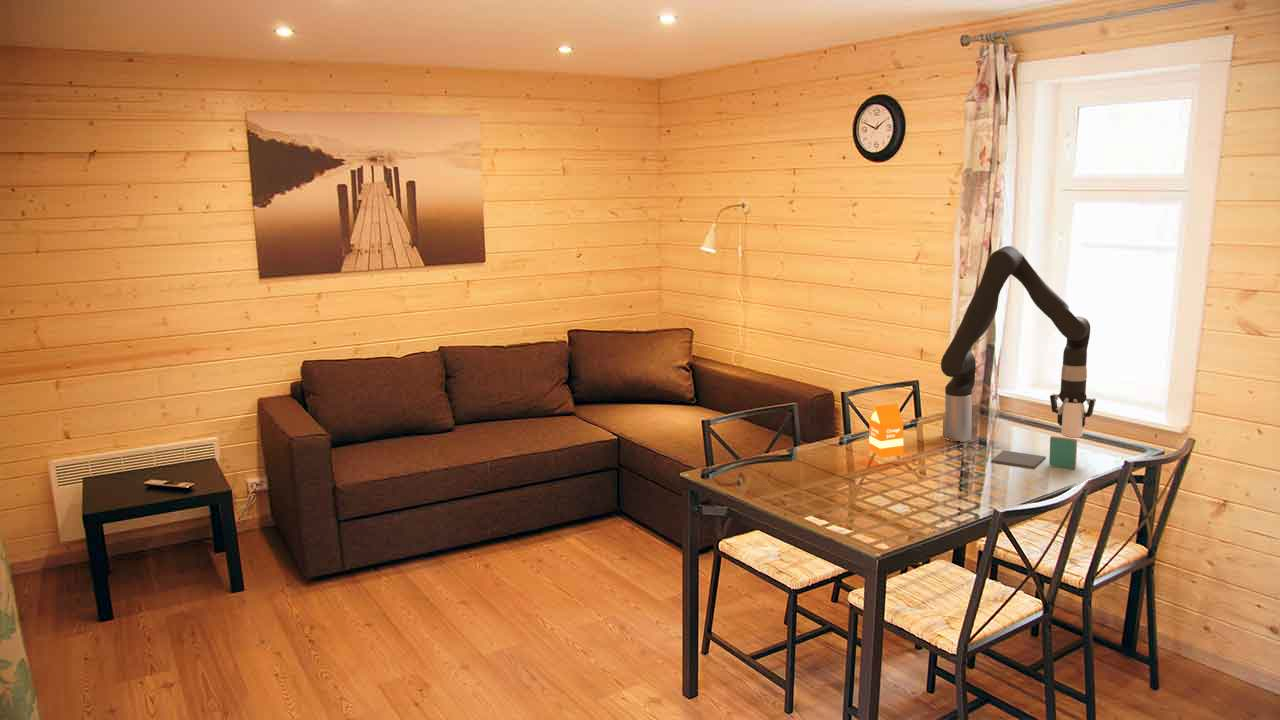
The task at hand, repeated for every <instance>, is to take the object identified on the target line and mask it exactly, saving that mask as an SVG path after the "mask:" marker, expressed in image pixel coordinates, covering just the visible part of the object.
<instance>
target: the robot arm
mask: <svg viewBox="0 0 1280 720" xmlns="http://www.w3.org/2000/svg"><path fill="white" fill-rule="evenodd" d="M1010 276H1012V277H1014V278H1015V279H1017V280H1018V281H1019V282H1020V283H1021V285H1022V286H1023V287H1024V288H1025V290H1026V292H1027V293H1028V295H1029V296H1030V299H1031V301H1032V302H1033V303H1034V305H1035V306H1036V307H1037V308H1038V309H1039V310H1040V311H1041V312H1042V313H1043V314H1044V315H1045V316H1046V317H1048V318H1049V319H1050V320H1051V322H1052V323H1053V324H1054V326H1055V327H1056V329H1057V330H1058V331H1059V332H1060V334H1061V335H1063V337H1064V338H1066V346H1065V347H1064V349H1063V355H1062V367H1061V374H1060V377H1061V378H1060V392H1059V393H1052V394H1051V395H1049V399H1050V405H1051V406H1050V407H1051V412H1052V413H1055V414H1057V424H1058V425H1059V426H1061V427H1062V415H1063V409H1064V405H1065V403H1066V401H1067V402H1074V403H1081V404H1083V403H1085V402H1086V403H1087V405H1088V407H1087V411H1086V410H1085V409H1084V413H1083V411H1082V410H1081V411H1082V416H1081V417H1082V418H1083V420H1082V427H1083V428H1084V427H1085V426H1086V420H1087V419H1086V418H1089V417H1091V416H1092V415H1093V412H1094V409H1095V405H1096V401H1097V399H1096V398H1095V397H1094V398H1091V397H1087V394H1086V390H1087V377H1088V372H1087V371H1088V370H1087V362H1088V361H1087V360H1088V352H1087V351H1088V346H1089V342H1090V337H1091V324H1090V321H1089V320H1088V319H1087V318H1086V317H1084V316H1076V315H1074V314H1073V313H1072V312H1071V310H1070V307H1069V305H1068V304H1067V302H1065V300H1064V299H1062V298H1061V296H1059V294H1057V293H1056V292H1055V291H1054V290H1053V289H1052V288H1051V287H1050V286H1049V285H1048V284H1047V283H1046V282H1045V280H1043V278H1042V277H1040V276H1041V275H1039V274H1038V272H1037V271H1036V270H1035V269H1034V268H1033V266H1032V265H1031V264H1030V263H1029V261H1028V259H1026V256H1025V255H1024V254H1023V253H1022V252H1021V251H1020V250H1019V249H1018V248H1016V247H1014V246H1011V245H1007V246H1003V247H1001V248H999V249H997V250H995V251H994V252H992V253H991V254H990V256H989V258H988V259H987V262H986V265H985V268H984V271H983V273H982V277H981V280H980V282H979V285H978V286H977V288H976V290H975V292H974V294H973V296H972V298H971V300H970V302H969V304H968V306H967V308H966V310H965V313H964V315H963V318H962V320H961V321H960V324H959V327H958V329H957V331H956V332H955V334H954V337H953V339H952V341H951V343H950V344H949V345H948V347H947V348H946V350H945V352H944V353H943V356H942V358H941V362H940V367H941V372H942V373H943V374H944V375H945V376H946V377H950V378H951V380H950V381H949V382H948V383H947V384H946V386H945V387H944V389H945V390H944V394H945V396H944V398H945V399H944V401H945V402H944V413H943V414H942V438H943V437H944V438H947V439H949V440H952V441H951V442H953V441H960V442H959V443H965V442H969V441H971V440H972V422H973V421H972V415H973V413H972V412H973V410H972V409H973V401H972V400H973V389H974V388H975V383H976V368H977V365H976V364H977V362H976V358H975V355H974V354H973V353H972V351H971V349H972V347H973V346H974V344H975V343H976V342H977V341H979V339H981V337H982V336H984V334H985V333H986V332H987V330H988V329H989V328H990V325H991V324H992V322H993V320H994V319H995V315H996V313H997V310H998V307H999V305H998V304H999V296H1000V293H1001V291H1002V288H1003V286H1004V285H1005V283H1006V282H1007V280H1008V279H1009V277H1010ZM1059 399H1060V401H1061V406H1060V407H1059V408H1058V400H1059ZM949 440H948V441H949Z"/></svg>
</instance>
